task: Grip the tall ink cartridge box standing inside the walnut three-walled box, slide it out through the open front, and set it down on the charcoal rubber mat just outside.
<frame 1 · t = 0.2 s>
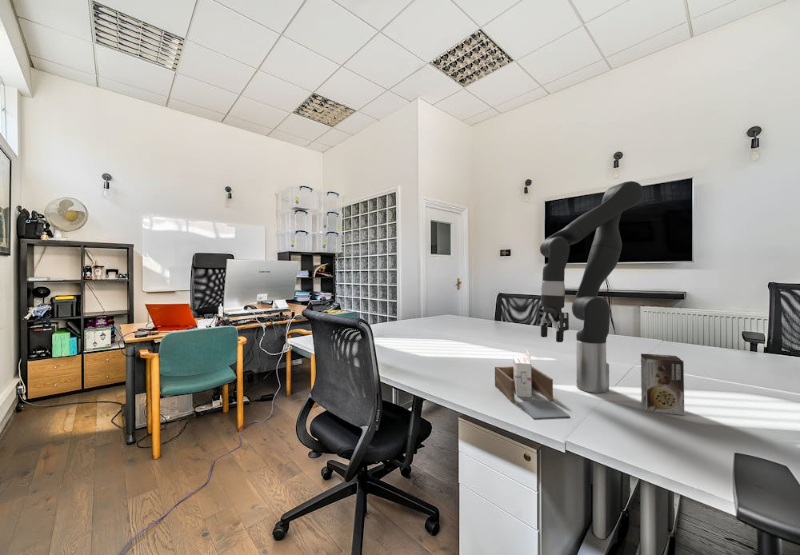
hand: (551, 339, 113), 18 cm above the table, tool pointing down, fingers open, 8 cm apart
open front box: (522, 392, 112), on the table
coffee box: (661, 409, 97), on the table
mat: (542, 409, 98), on the table
ink cartridge box: (522, 393, 112), on the table
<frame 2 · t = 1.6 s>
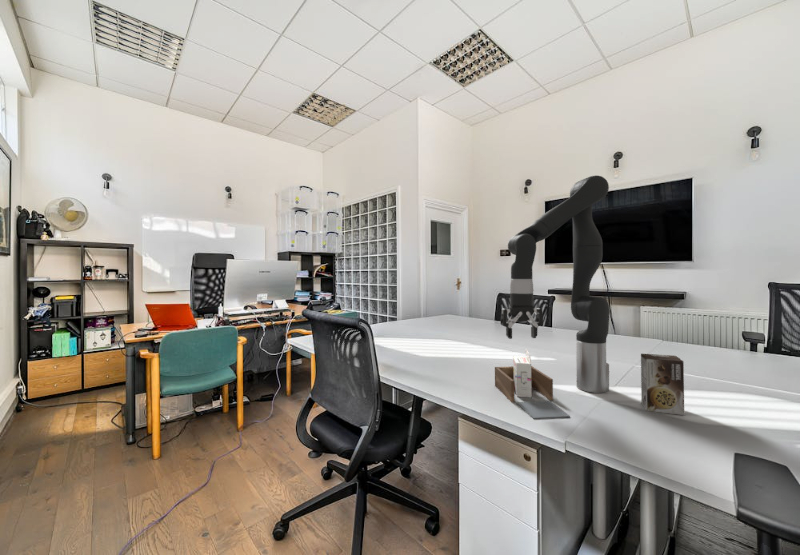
hand: (521, 338, 111), 19 cm above the table, tool pointing down, fingers open, 8 cm apart
nothing on the table moved.
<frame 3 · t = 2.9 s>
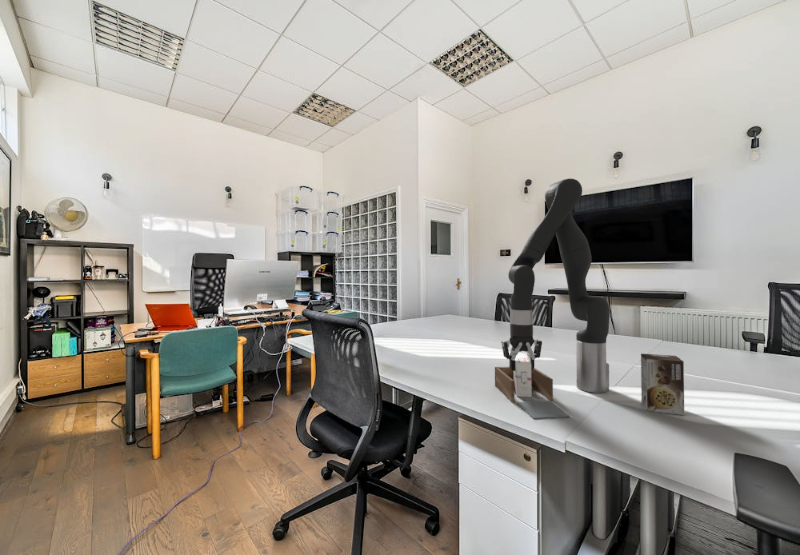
hand: (521, 369, 112), 8 cm above the table, tool pointing down, fingers closed on ink cartridge box, 5 cm apart
ink cartridge box: (522, 393, 112), on the table, touching gripper
everything else where it was.
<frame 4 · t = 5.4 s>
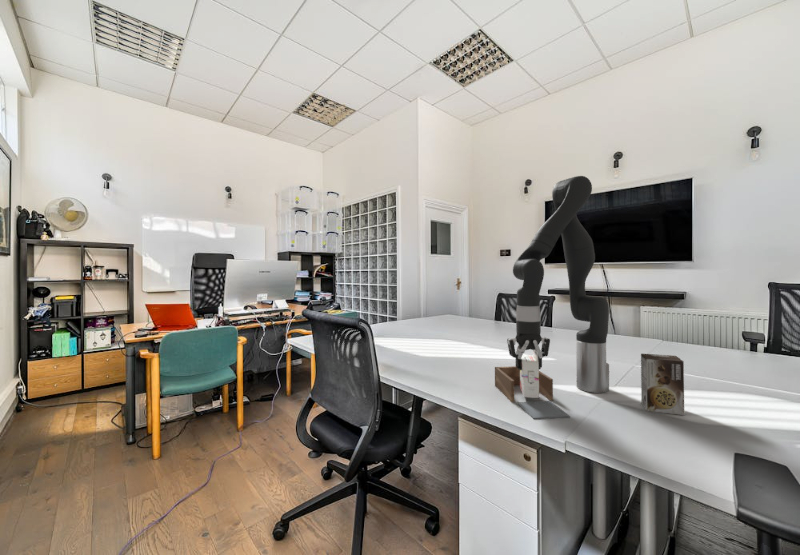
hand: (528, 368, 106), 10 cm above the table, tool pointing down, fingers closed on ink cartridge box, 5 cm apart
ink cartridge box: (528, 393, 107), point 2 cm above the table, touching gripper
everything else where it was.
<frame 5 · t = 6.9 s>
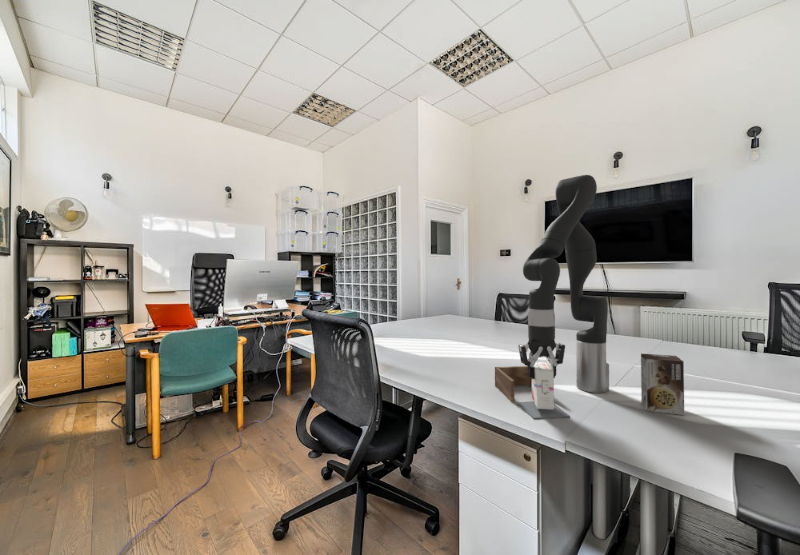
hand: (541, 377, 98), 10 cm above the table, tool pointing down, fingers closed on ink cartridge box, 5 cm apart
ink cartridge box: (542, 404, 98), point 2 cm above the table, touching gripper
everything else where it was.
when the fingers open (9 cm above the table, at t = 7.8 s): ink cartridge box stays where it is, resting on mat.
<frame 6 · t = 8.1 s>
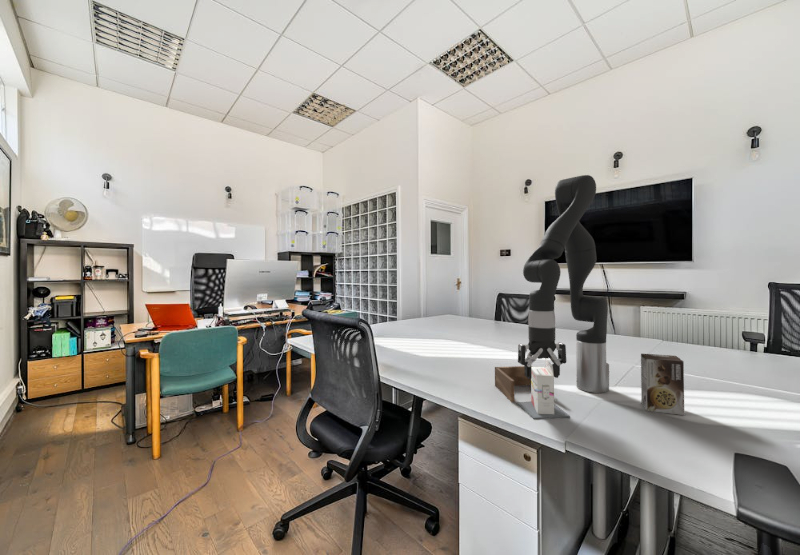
hand: (542, 377, 98), 10 cm above the table, tool pointing down, fingers open, 8 cm apart
ink cartridge box: (542, 409, 98), resting on mat
everything else where it was.
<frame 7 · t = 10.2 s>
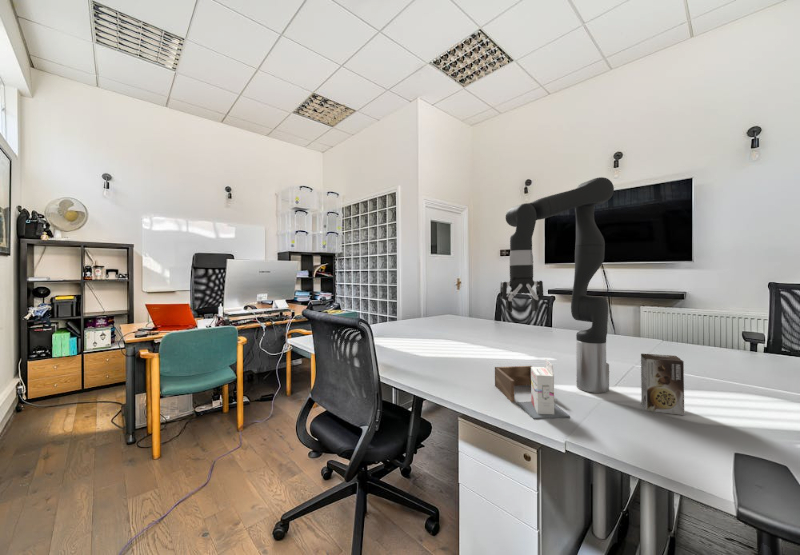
hand: (521, 311, 109), 29 cm above the table, tool pointing down, fingers open, 8 cm apart
nothing on the table moved.
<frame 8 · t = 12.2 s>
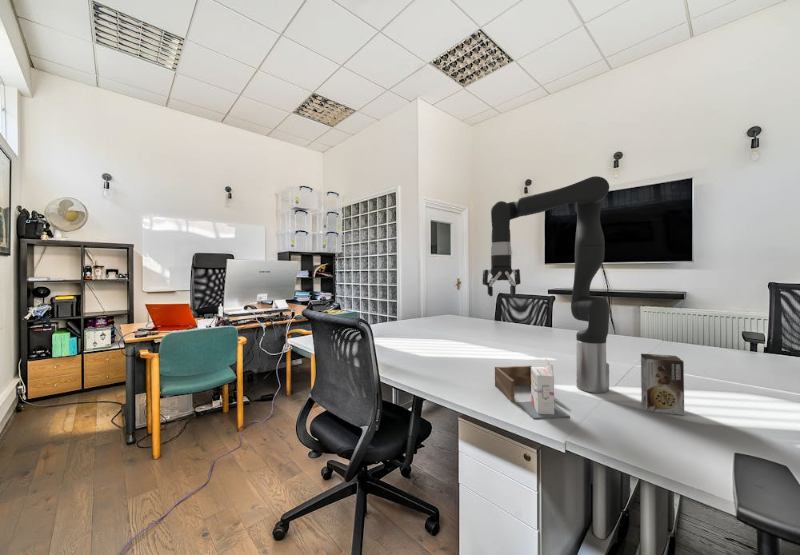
hand: (501, 295, 124), 33 cm above the table, tool pointing down, fingers open, 8 cm apart
nothing on the table moved.
at the end: ink cartridge box inside the target area on the mat (0.1 cm from its centre), point 0.2 cm above the mat's base; ink cartridge box tilted 0°; the gripper is holding nothing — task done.
